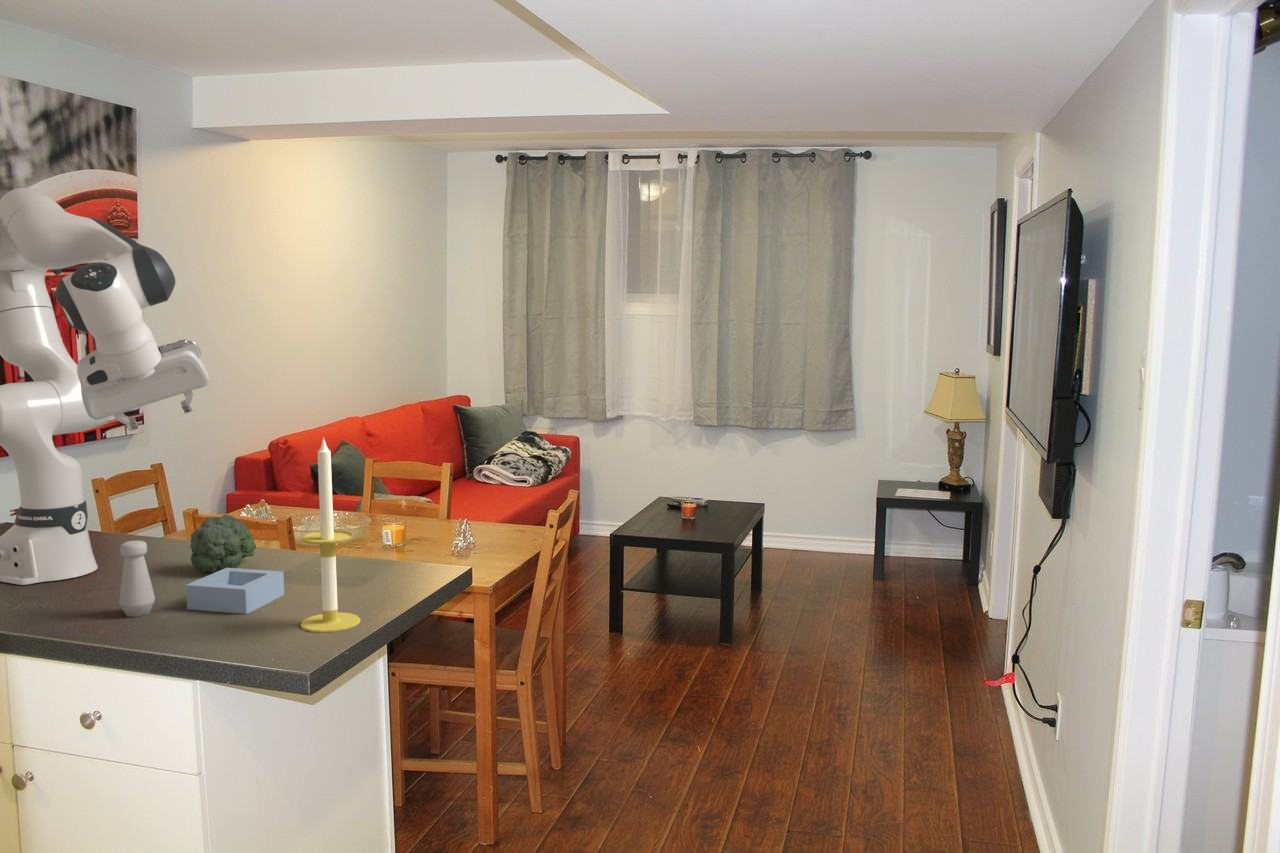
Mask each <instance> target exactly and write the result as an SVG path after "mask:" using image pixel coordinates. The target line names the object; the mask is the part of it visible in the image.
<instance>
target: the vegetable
mask: <svg viewBox="0 0 1280 853" xmlns="http://www.w3.org/2000/svg"><path fill="white" fill-rule="evenodd" d="M256 548H257V544H256V543H255V536H254V534H252V533H251V531H250V529H249V528H248V526H247V525H246V523H244V522H242V521H240V520H238V519H237V518H236V517H234V516H233V515H231V514H223V515H222V516H219V517H218V516H211V517H208V518H206V519H205V520H204V521H203V522H202V523H201V525H200V526H199V527H198V528H197V529H195V530H194V531H193V532H192V534H191V535H190V549H191V552H192V553H191V555H190V562H191V563H192V566H193V567H195V569H198V571H199V573H202V574H206V575H207V574H211V572H212V573H215V572H218V571H220V570H223V569H225V568H238V566H240V565H241V564H242V562H244V561H246V560H247V559H248V557H253V556H254V555H255V553H256V551H255V549H256Z"/></svg>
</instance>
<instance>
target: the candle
mask: <svg viewBox="0 0 1280 853" xmlns="http://www.w3.org/2000/svg"><path fill="white" fill-rule="evenodd" d="M331 454H332V452H331V450H330V449H329V448H328V446H327V443H326V439H325V436H323V438H322V440H321V444H320V448H319V449H318V451H317V472H318V496H319V522H320V525H319V526H320V527H319V528H320V530H319V531H313V532H312V531H311V532H308V533H306V534H304V535H302V536H301V537H300V539H301V540H300V541H302V542H303V543H306V544H310V545H311V544H312V545H319V553H320V576H321V577H320V578H321V579H320V581H321V604H322V613H320V614H319V613H318V614H316V615H311V616H309V617H307V618H304V619H303V620H301V623H300V628H301V629H302V630H303V631H306V632H310V633H322V634H324V633H335V632H342V631H347V630H349V629H353V628H354V627H356V626H357V625H359V624H360V623H361V618H360V617H359V616H358V615H357V614H354V613H351V612H341V611H340V612H339V610H338V609H339V606H338V604H339V603H338V582H337V581H338V580H337V558H336V557H337V555H336V553H337V552H336V544H339V543H343V542H346V541H347V542H348V541H349V540H351V539H353V537H354V533H352V532H351V531H349V530H337V529H334V528H335V527H334V509H333V508H334V506H333V504H334V503H333V483H332V481H333V480H332V476H333V475H332V458H331V457H332V456H331Z"/></svg>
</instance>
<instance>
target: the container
mask: <svg viewBox="0 0 1280 853" xmlns="http://www.w3.org/2000/svg"><path fill="white" fill-rule="evenodd" d="M284 577H285V576H284V571H280V570H279V571H278V570H265V569H251V568H238V567H236V568H225V569H223V570H220V571H218V570H217V571H215V572H212V573H210V574H208V575H206V576H204V577H201V578H199V579H197V580H194V581H192V582H189V583H187V584H185V596H186V610H190V611H191V610H192V611H202V612H203V611H204V612H216V613H228V614H229V613H230V614H241V615H247V614H250V613H252V612H254V611H256V610H257V609H260V608H261V607H263V606H266V605H268V604H269V603H271V602H274V601H276V600H277V599H279V598H281V597H283V596H285V581H284V579H285V578H284Z"/></svg>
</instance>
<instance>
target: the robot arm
mask: <svg viewBox="0 0 1280 853" xmlns="http://www.w3.org/2000/svg"><path fill="white" fill-rule="evenodd" d="M98 260H99V261H101V260H104V261H101V262H94V261H98ZM92 261H93V262H92ZM87 262H88V264H85V265H83V266H80V267H79V268H78V269H76V270H75V271H74V272H72V273H69V274H67V275H66V276H64V277H62V278H61V279H60V280H59V281H58V283H57V285H56V289H55V292H54V297H55V299H56V301H57V302H58V303H59V305H60V307H61V310H62V311H63V314H64V316H65V319H66V322H67V323H68V325H69V326H70V327H71V328H72V329H74V330H78V331H79V332H83V333H85V334H91V336H92V337H93V338H94V342H95V347H96V349H95V350H93V351H92V352H90V353H88V354H86V355H85V356H83V357H82V358H80V359H79V360H78V362H77V363H76V362H75V361H74V359H73V358H72V357H71V355H70V354H69V352H68V351H67V348H66V346H65V344H64V342H63V338H62V336H61V332H60V329H59V325H58V323H57V319H56V314H55V310H54V307H53V303H52V301H51V297H50V295H49V292H48V289H47V285H46V280H45V278H46V273H47V271H48V270H51V272H52V273H53V274H54V275H56V276H59V275H61V274H62V270H64V269H66V268H71V267H73V266H77V265H81V264H84V263H87ZM89 262H92V263H89ZM175 286H176V278H175V275H174V271H173V270H172V268H171V266H170V264H169V262H168V261H167V260H166V259H165V257H163V255H162V254H161V253H160V252H159V251H158V250H155V249H153V248H151V247H149V246H146V245H142V244H141V243H139V242H137V241H135V239H132V238H131V237H130V236H128V235H126V234H124V233H123V232H121V231H120V230H118V229H117V228H115V227H114V226H112V225H110V224H108V223H107V222H105V221H103V220H101V219H99V218H93V217H85V216H81V215H76V214H73V213H69V212H67V211H65V209H64V208H63V207H62V206H61V205H60V204H59V203H57V202H56V201H55V200H53V199H52V198H51V197H49V196H48V195H46V194H44V192H43V193H42V192H41V191H38V190H37V189H33V188H29V187H20V188H19V187H18V188H14V189H12V190H10V191H8V192H6V193H5V194H4V195H3V196H2V197H1V198H0V356H1V358H2V359H3V360H5V362H7V363H9V364H10V365H12V366H15V367H18V368H20V369H22V370H23V371H24V372H26V373H27V374H28V375H29V376H30V378H31V379H32V380H33V381H23V382H13V383H12V382H11V383H5V384H1V385H0V446H1V447H2V448H3V449H4V450H5V451H6V453H7V454H8V456H9V457H10V459H11V460H12V463H13V465H14V468H15V471H16V475H17V481H18V489H19V497H20V506H19V507H17V508H15V509H11V510H9V512H10V513H11V512H13V513H11V514H9V516H10V517H13V516H16V517H15V519H14V524H13V525H12V526H11V527H10V528H9V529H7V530H6V531H5V532H4V533H3V534H1V535H0V582H1V583H8V584H14V585H18V586H19V585H21V586H22V585H23V586H25V585H32V584H36V583H44V582H54V581H61V580H68V579H72V578H78V577H82V576H85V575H88V574H91V573H94V572H95V571H97V570H98V568H99V567H98V563H97V562H96V558H95V555H94V552H93V549H92V544H91V539H90V535H89V530H88V526H87V524H88V517H89V516H88V514H89V513H88V505H87V504H88V503H87V501H86V500H85V497H84V496H85V495H84V494H85V493H84V483H83V482H84V481H83V469H82V466H81V464H80V463H79V461H78V460H76V459H75V458H74V457H73V456H70V455H68V454H66V453H63V452H61V451H58V449H57V448H56V447H55V444H54V440H53V436H58V435H66V434H75V433H80V432H86V431H89V430H91V429H96V428H98V427H101V426H104V425H105V424H106V423H107V422H108V420H110V418H111V417H112V416H114V418H115V420H117V421H118V422H119V423H121V424H124V425H126V426H127V429H128V431H129V432H132V431H135V430H138V429H139V425H138V422H137V421H136V418H135V416H130V417H129V416H128V415H126V414H124V413H125V412H128V411H131V410H133V409H136V408H141V407H144V406H147V405H150V404H153V403H157V402H160V401H163V400H166V399H168V398H172V397H175V396H177V395H178V396H179V395H182V394H183V396H184V397H185V399H184V400H181V401H180V404H181V408H182V410H183V413H184V414H188V413H191V412H193V411H194V408H193V405H192V400H193V397H194V393H193V391H194V390H197V389H201V388H205V387H206V386H208V384H209V381H210V376H209V374H208V373H209V372H208V371H207V368H206V366H205V364H204V362H203V361H202V359H201V356H202V352H201V349H200V347H199V345H198V344H197V342H195V341H193V340H186V339H180V340H177V341H175V342H172V343H166V344H163V345H160V346H159V345H158V343H157V341H156V338H155V336H154V334H153V333H152V330H151V329H150V327H149V326H148V325H147V323H145V321H144V318H143V316H144V315H143V310H144V309H145V308H148V307H152V306H155V305H158V304H161V303H164V302H165V303H166V302H168V300H169V299H170V297H171V295H172V294H173V291H174V289H175Z"/></svg>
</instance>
